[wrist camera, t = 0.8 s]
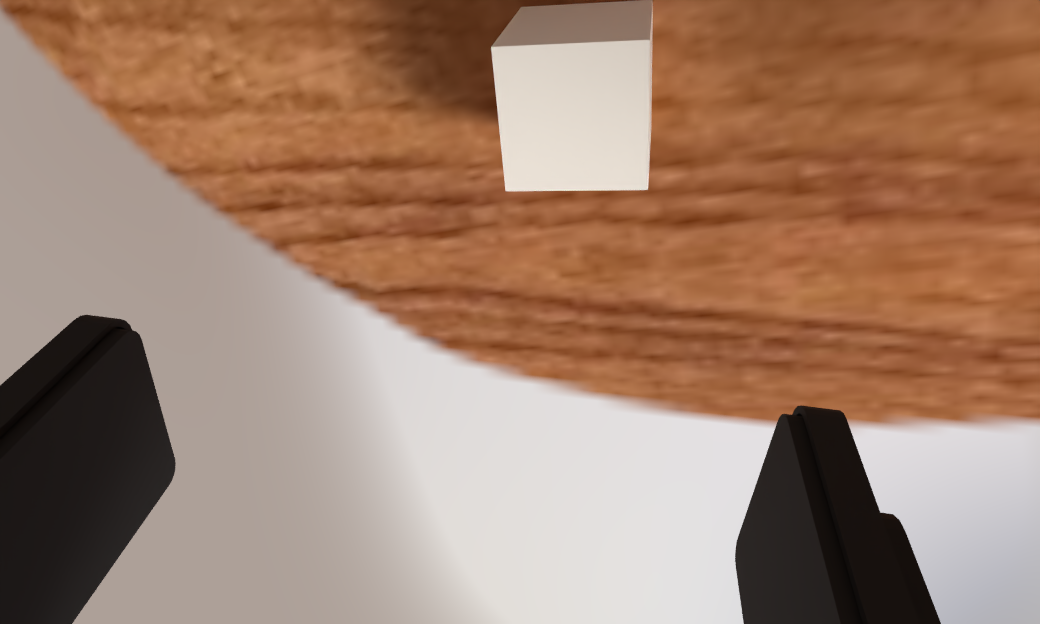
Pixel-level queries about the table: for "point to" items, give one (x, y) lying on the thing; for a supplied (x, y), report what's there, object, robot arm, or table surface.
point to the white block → (575, 96)
